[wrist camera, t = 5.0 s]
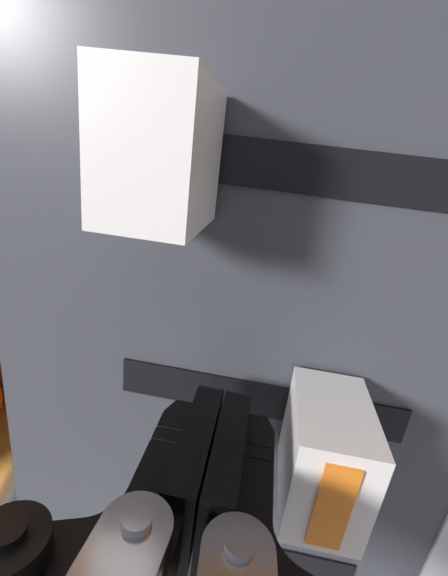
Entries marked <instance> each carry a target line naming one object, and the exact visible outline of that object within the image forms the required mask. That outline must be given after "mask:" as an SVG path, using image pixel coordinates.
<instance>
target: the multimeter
mask: <svg viewBox="0 0 448 576" xmlns="http://www.w3.org/2000/svg"><path fill="white" fill-rule="evenodd" d="M2 401H3V390H2V387H1V385H0V409H1V408H2Z"/></svg>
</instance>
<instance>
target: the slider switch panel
mask: <svg viewBox="0 0 448 576" xmlns="http://www.w3.org/2000/svg"><path fill="white" fill-rule="evenodd" d="M77 46H84V47H95V48H105V49H116V50H127V51H137V52H148V53H159V54H169V55H180V56H191V57H199V58H200V59H201V60H202V62H203V63H204V64H205V65H206V67H207V68H208V69H209V70H210V72H211V73H212V74H213V75H214V76H215V78H216V79H217V80H218V81H219V83H220V84H221V85H222V86H223V88H224V89H225V90H226V91H227V101H226V111H225V121H224V131H223V140H222V150H221V160H220V170H219V180H218V189H217V199H216V209H215V219H214V220H213V221H212V222H210V223H209V224H208V225H207V226H206V227H205V228H204V229H203V230H202V231H200V232H199V233H198V234H197V235H196V236H195V237H194V238H193V239H192V240H191V241H189V242H188V243H187V244H186V245H185V246H183V245H177V244H170V243H163V242H156V241H149V240H143V239H136V238H129V237H122V236H115V235H109V234H102V233H95V232H88V231H82V215H81V177H80V139H79V101H78V62H77ZM0 363H1V371H2V379H3V387H4V396H5V404H6V412H7V420H8V429H9V437H10V445H11V453H12V462H13V470H14V478H15V486H16V495H17V501H18V500H33V501H36V502H39V503H41V504H43V505H44V506H45V507H47V508H48V510H49V511H50V513H51V516H52V520H63V519H73V518H83V517H89V516H93V515H96V514H99V513H101V512H103V511H104V510H105V509H106V507H107V506H108V505H109V504H110V503H111V502H112V501H114V500H115V499H116V498H118V497H120V496H121V495H123V494H125V492H126V490H127V488H128V486H129V484H130V482H131V480H132V478H133V476H134V473H135V471H136V469H137V467H138V465H139V463H140V461H141V458H142V456H143V454H144V452H145V450H146V448H147V446H148V443H149V441H150V440H151V437H152V435H153V433H154V431H155V428H157V424H158V422H159V420H160V418H161V415H162V413H163V411H164V410H165V409H166V408H167V407H168V406H170V405H171V404H172V403H173V402H174V401H176V400H182V401H187V402H193V399H194V396H195V394H196V391H197V388H198V386H199V385H203V386H208V387H213V388H219V389H224V396H225V392H226V390H230V391H235V392H240V393H245V394H251V402H250V410H249V414H254V415H259V416H264V417H268V419H269V421H270V423H271V425H272V427H273V429H274V432H275V448H274V490H273V528H274V533H275V535H276V538H277V504H278V443H279V438H280V433H281V429H282V424H283V419H284V414H285V409H286V405H287V400H288V395H289V390H290V386H291V381H292V376H293V371H294V366H296V367H302V368H307V369H313V370H319V371H324V372H330V373H336V374H341V375H347V376H353V377H359V378H363V379H364V381H365V384H366V387H367V389H368V392H369V395H370V397H371V400H372V402H373V405H374V408H375V410H376V413H377V416H378V418H379V421H380V424H381V426H382V429H383V432H384V434H385V437H386V440H387V442H388V445H389V448H390V450H391V453H392V456H393V458H394V461H395V464H396V466H395V469H394V472H393V474H392V477H391V480H390V483H389V485H388V488H387V491H386V494H385V496H384V499H383V502H382V505H381V507H380V510H379V513H378V516H377V518H376V521H375V524H374V527H373V529H372V532H371V535H370V538H369V540H368V543H367V546H366V549H365V551H364V554H363V557H362V560H361V561H360V560H355V559H351V558H346V557H342V556H338V555H333V554H329V553H324V552H320V551H315V550H311V549H306V548H302V547H297V546H293V545H288V544H284V543H280V542H279V544H280V546H281V548H282V549H283V551H284V552H285V553H286V555H287V556H288V557H289V558H290V559H291V560H292V561H293V562H294V563H295V564H297V565H298V566H299V567H301V568H302V569H304V570H306V571H307V572H309V573H310V574H312V575H314V576H448V0H0ZM223 400H224V397H223ZM192 555H193V552H192ZM191 563H192V557H191V561H190V566H189V570H188V575H187V576H190V571H191Z"/></svg>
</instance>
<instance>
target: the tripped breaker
mask: <svg viewBox="0 0 448 576" xmlns="http://www.w3.org/2000/svg"><path fill="white" fill-rule="evenodd" d="M395 466H396V464H395V461H394V458H393V456H392V453H391V450H390V448H389V445H388V442H387V440H386V437H385V434H384V432H383V429H382V426H381V424H380V421H379V418H378V416H377V413H376V410H375V408H374V405H373V402H372V400H371V397H370V395H369V392H368V389H367V387H366V384H365V381H364V379H363V378H359V377H353V376H347V375H341V374H336V373H330V372H324V371H319V370H313V369H307V368H302V367H296V366H294V371H293V376H292V381H291V386H290V390H289V395H288V400H287V405H286V409H285V414H284V419H283V424H282V429H281V433H280V438H279V443H278V504H277V541H278V542H280V543H284V544H288V545H293V546H297V547H302V548H306V549H311V550H315V551H320V552H324V553H329V554H333V555H338V556H342V557H346V558H351V559H355V560H360V561H361V560H362V557H363V554H364V551H365V549H366V546H367V543H368V540H369V538H370V535H371V532H372V529H373V527H374V524H375V521H376V518H377V516H378V513H379V510H380V507H381V505H382V502H383V499H384V496H385V494H386V491H387V488H388V485H389V483H390V480H391V477H392V474H393V472H394V469H395Z"/></svg>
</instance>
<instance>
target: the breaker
mask: <svg viewBox="0 0 448 576" xmlns="http://www.w3.org/2000/svg"><path fill="white" fill-rule="evenodd" d="M77 62H78V101H79V139H80V177H81V215H82V231H88V232H95V233H102V234H109V235H115V236H122V237H129V238H136V239H143V240H149V241H156V242H163V243H170V244H177V245H183V246H185V245H186V244H187V243H188V242H189V241H191V240H192V239H193V238H194V237H195V236H196V235H197V234H198V233H199V232H200V231H202V230H203V229H204V228H205V227H206V226H207V225H208V224H209V223H210V222H212V221H213V220H214V219H215V209H216V199H217V189H218V180H219V170H220V160H221V150H222V140H223V131H224V121H225V111H226V101H227V91H226V90H225V89H224V88H223V86H222V85H221V84H220V83H219V81H218V80H217V79H216V78H215V76H214V75H213V74H212V73H211V72H210V70H209V69H208V68H207V67H206V65H205V64H204V63H203V62H202V60H201V59H200V58H199V57H191V56H180V55H169V54H159V53H148V52H137V51H127V50H116V49H105V48H95V47H84V46H77Z"/></svg>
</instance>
